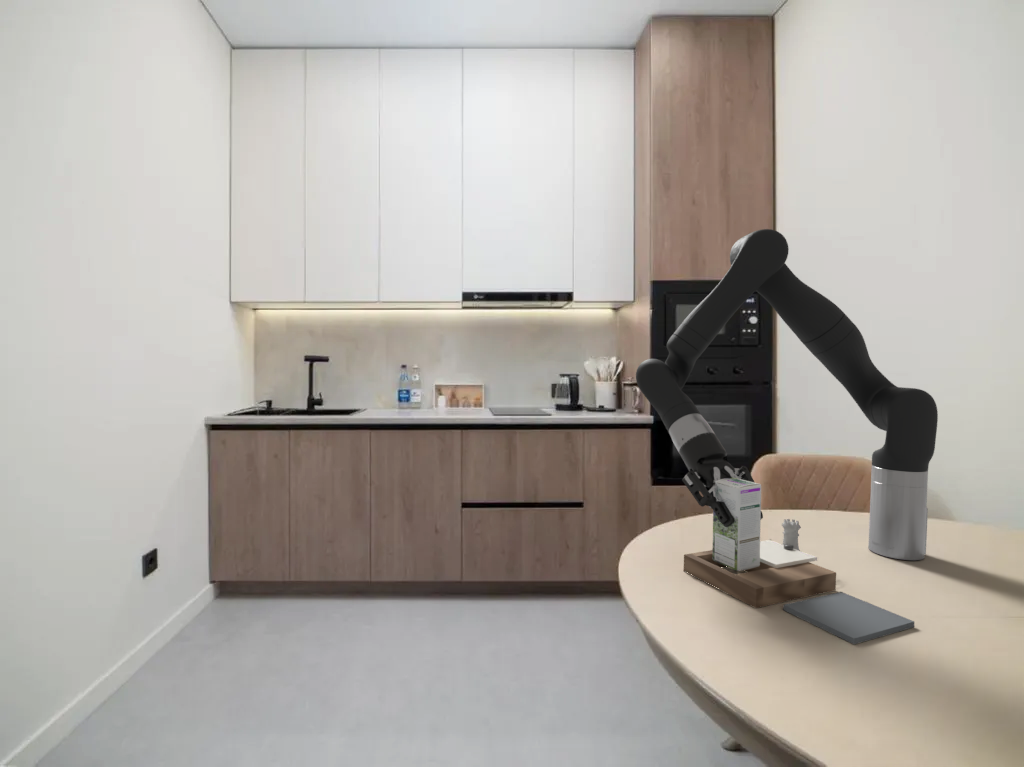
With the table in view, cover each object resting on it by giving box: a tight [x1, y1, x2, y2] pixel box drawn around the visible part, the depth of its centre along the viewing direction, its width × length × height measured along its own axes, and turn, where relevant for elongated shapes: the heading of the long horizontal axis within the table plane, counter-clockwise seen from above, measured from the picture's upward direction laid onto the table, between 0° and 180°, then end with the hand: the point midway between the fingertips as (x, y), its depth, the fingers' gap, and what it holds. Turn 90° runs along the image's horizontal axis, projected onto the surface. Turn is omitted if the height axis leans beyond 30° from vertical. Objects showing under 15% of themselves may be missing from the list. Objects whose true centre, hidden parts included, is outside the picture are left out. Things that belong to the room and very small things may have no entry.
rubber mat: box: [783, 591, 915, 645], centre depth 80 cm, size 13×11×1 cm
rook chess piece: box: [781, 518, 802, 551], centre depth 103 cm, size 4×4×8 cm
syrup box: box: [712, 478, 762, 572], centre depth 95 cm, size 6×6×14 cm
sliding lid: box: [760, 539, 818, 568], centre depth 98 cm, size 10×10×1 cm
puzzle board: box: [683, 549, 837, 609], centre depth 94 cm, size 18×16×3 cm
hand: (744, 522), depth 93 cm, fingers closed on syrup box, 6 cm apart
